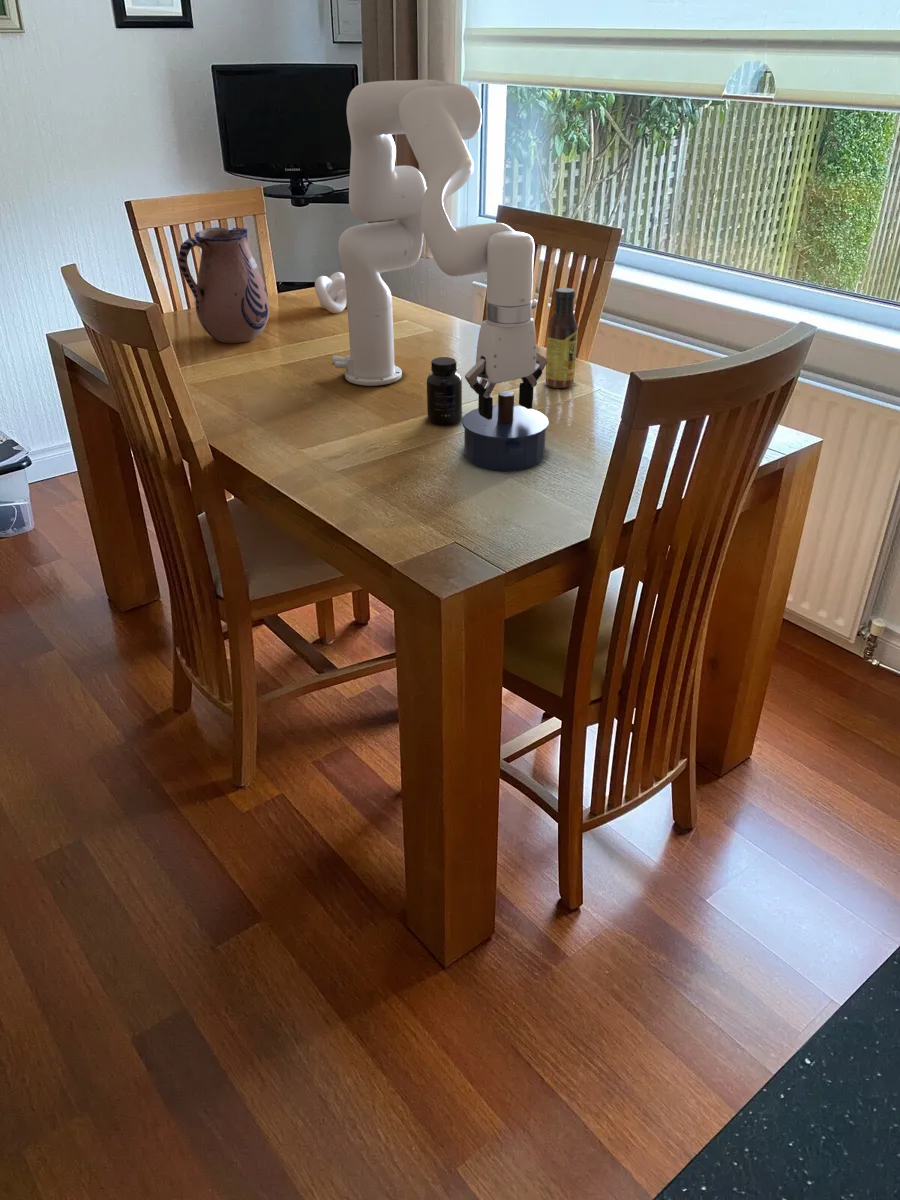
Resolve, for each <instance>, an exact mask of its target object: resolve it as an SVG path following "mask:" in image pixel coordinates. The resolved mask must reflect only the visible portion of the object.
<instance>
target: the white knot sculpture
mask: <svg viewBox="0 0 900 1200" xmlns="http://www.w3.org/2000/svg"><path fill="white" fill-rule="evenodd" d="M314 290H315V294H316V296H317V298H318V301H319V305H320V307H321V308H323V309H325V310H327V311H328V312H330V313H332V314H339V313H341V312H343V311H344V310H345V309H346V308H347V295H346V285H345V278H344V272H340V271H337V272H336V271H335V272H334V273H332V274H331V275H330V276H329V277H328V276H325V275H320V276H318V277H317V278H316V280H315V282H314Z"/></svg>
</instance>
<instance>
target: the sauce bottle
mask: <svg viewBox="0 0 900 1200" xmlns="http://www.w3.org/2000/svg"><path fill="white" fill-rule="evenodd" d="M575 297H576V290H575V289H574V288H569V287H561V288H560V287H559V288H556V289H555V292H554V298H555V307H554V313H553V315H552V316H551V317H550V319H549V322H548V327H547V328H548V330H547V331H548V332H547V333H548V334H547V338H546V339H547V341H546V355H545V356H546V357H545V358H546V359H547V360H548V361H547V364H546V365H545V384H546V385H547V387H550V388H555V389H565V388H569V387H570V388H571V386H573V384H574V379H575V377H576V376H575V373H576V361H577V347H578V333H579V332H578V331H579V329H578V324H577V321H576V317H575V313H574V303H575V300H574V299H575Z"/></svg>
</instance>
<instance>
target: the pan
mask: <svg viewBox="0 0 900 1200" xmlns="http://www.w3.org/2000/svg"><path fill="white" fill-rule="evenodd" d="M463 430H464V434H463V435H464V442H463V443H464V444H463V445H464V451H463V452H464V456H465V459H466V460H467V461H468V462H469V463H470V464H472V465H474V466H476V467H478V468H481V469H484V470H487V471H488V470H489V471H495V472H517V471H522V470H527V469H531V468H533V467H535V466H537V465H539V464H540V463H541V462H542V461H543V460H544V458H545V451H546V437H547V435H546V434H547V430H546V431H545V432H543V433H542V434H540V435H537V436H535V437H531V438H527V439H522V440H508V441H507V440H492V439H487V438H482V437H479V436H476V435H473V434H471V433H470V432H468V431H467V430H466V429H465V428H464V427H463Z"/></svg>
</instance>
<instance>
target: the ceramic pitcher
mask: <svg viewBox="0 0 900 1200" xmlns="http://www.w3.org/2000/svg"><path fill="white" fill-rule="evenodd" d="M195 247H199V248H200V249H201V255H200V260H199V261H200V262H199V267H198V268H199V269H198V274H197V281H195V279H194V278H193V275H192V274H191V273H192V272H191V270H190V268H189V265H188V256H189V253H190V251H191V249H193V248H195ZM178 263H179V268H180V270H181V273H182V275H183V277H184V281H185V282H186V284H187V285H188V287H189V289H190V291H191V293H192V296H193V297H194V305H195V312H196V316H197V318H198V321H199V324H200V325H201V327H202V329H204V330H205V332H206V333H207V334H208V336H211V337H212V338H213V339H215V340H216V341H219V342H221V343H225V344H240V343H246V342H250V341H253V340H255V339H256V338H258V337H259V336H260V335H261V334H262V333H263V331H264V330H265V328H266V326H267V325H268V324H267V323H268V321H269V317H270V309H271V307H270V300H269V296H268V292H267V288H266V286H265V282H264V279H263V277H262V275H261V272H260V270H259V268H258V264H257V262H256V260H255V257H254V256H253V254H252V251H251V248H250V245H249V242H248V228H244V227H243V228H240V227H233V228H232V229H227V228H225V227H221V226H220V227H219V226H218V227H217V226H216V227H207V228H204V229H203V230H199V231H196V232H195V233H194V237H190V238H188V239H186V240H184V242H182V243H181V244H180V248H179V252H178Z"/></svg>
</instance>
